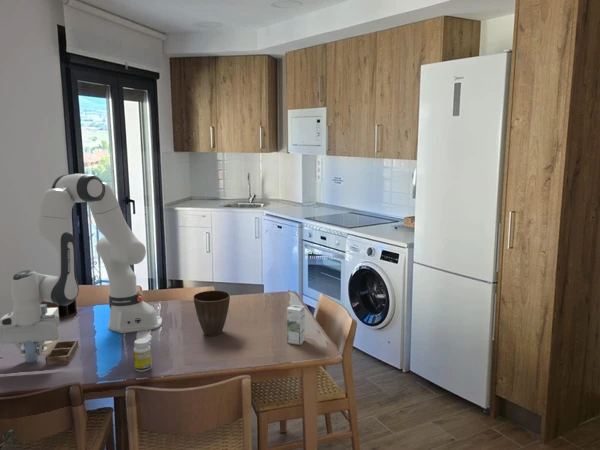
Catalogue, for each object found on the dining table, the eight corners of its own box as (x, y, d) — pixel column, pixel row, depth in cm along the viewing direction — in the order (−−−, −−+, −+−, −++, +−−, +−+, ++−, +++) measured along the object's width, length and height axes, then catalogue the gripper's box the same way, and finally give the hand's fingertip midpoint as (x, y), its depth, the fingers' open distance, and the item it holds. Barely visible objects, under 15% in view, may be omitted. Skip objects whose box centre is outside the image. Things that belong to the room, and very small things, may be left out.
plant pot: (238, 332, 217) (237, 295, 215) (209, 342, 207) (208, 303, 204) (216, 323, 228) (215, 288, 225) (187, 333, 217) (186, 296, 214)
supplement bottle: (136, 365, 186) (135, 337, 184) (153, 364, 186) (151, 337, 185) (132, 372, 180) (131, 344, 179) (149, 371, 181) (148, 343, 179)
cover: (59, 325, 227) (57, 299, 225) (49, 337, 212) (47, 310, 210) (37, 326, 225) (34, 300, 223) (26, 339, 211) (23, 312, 209)
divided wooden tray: (79, 349, 201) (78, 340, 200) (69, 365, 186) (68, 356, 185) (56, 350, 199) (56, 341, 198) (45, 367, 184) (44, 357, 184)
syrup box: (305, 340, 208) (305, 305, 206) (300, 345, 203) (300, 309, 200) (291, 338, 210) (291, 303, 208) (286, 344, 205) (286, 308, 202)
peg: (39, 360, 191) (37, 336, 189) (36, 364, 187) (34, 340, 186) (28, 360, 190) (25, 337, 189) (24, 365, 186) (22, 341, 185)
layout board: (60, 340, 210) (59, 325, 209) (49, 356, 194) (47, 340, 193) (33, 341, 208) (32, 327, 207) (20, 358, 192) (18, 342, 191)
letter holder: (49, 308, 251) (47, 279, 248) (77, 314, 241) (75, 285, 239) (30, 314, 242) (27, 285, 240) (58, 321, 233) (56, 290, 230)
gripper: (61, 311, 191) (64, 347, 193) (0, 315, 187) (4, 351, 189) (56, 317, 185) (59, 354, 187) (-7, 321, 181) (-3, 359, 183)
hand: (31, 353), depth 188 cm, fingers closed on peg, 4 cm apart
